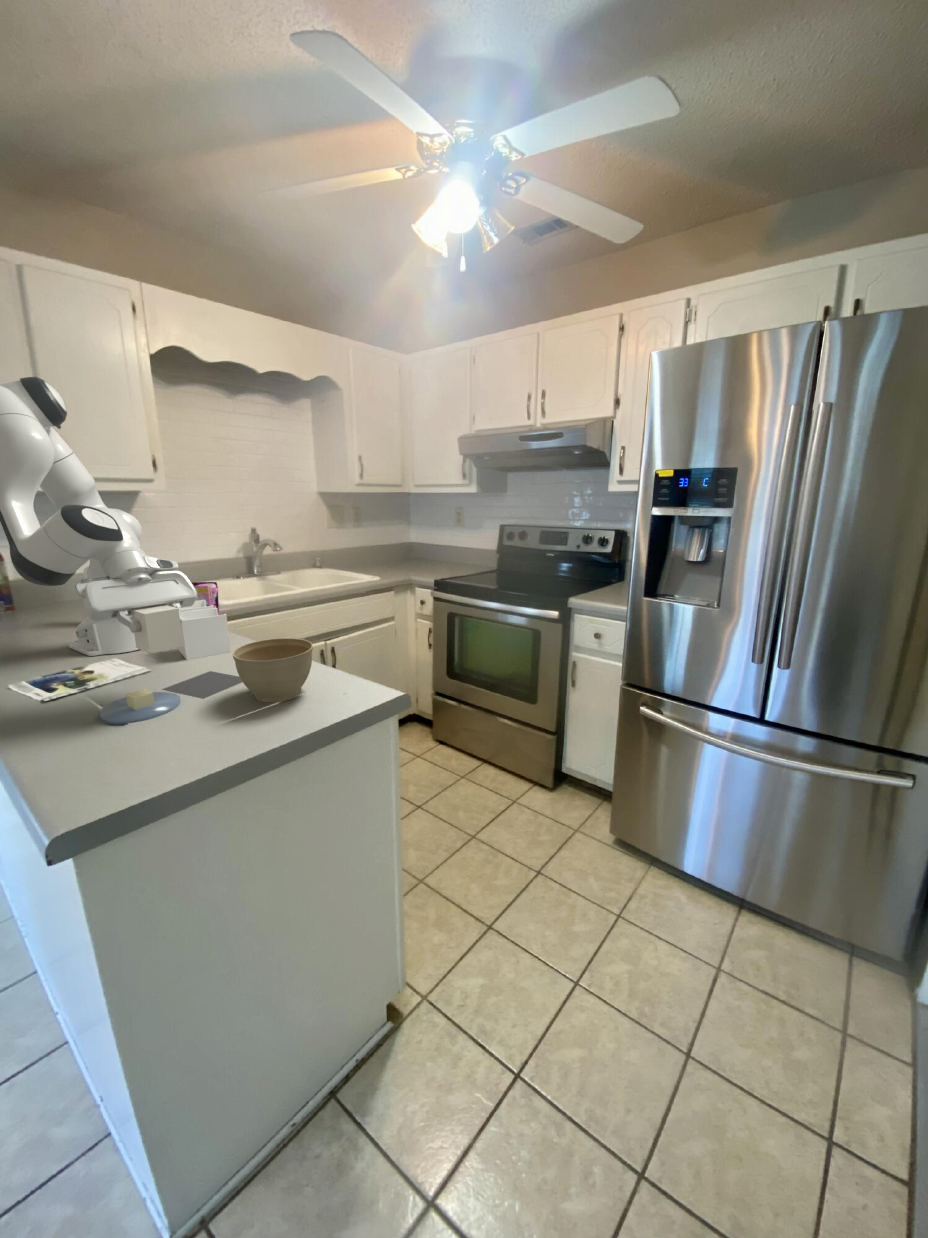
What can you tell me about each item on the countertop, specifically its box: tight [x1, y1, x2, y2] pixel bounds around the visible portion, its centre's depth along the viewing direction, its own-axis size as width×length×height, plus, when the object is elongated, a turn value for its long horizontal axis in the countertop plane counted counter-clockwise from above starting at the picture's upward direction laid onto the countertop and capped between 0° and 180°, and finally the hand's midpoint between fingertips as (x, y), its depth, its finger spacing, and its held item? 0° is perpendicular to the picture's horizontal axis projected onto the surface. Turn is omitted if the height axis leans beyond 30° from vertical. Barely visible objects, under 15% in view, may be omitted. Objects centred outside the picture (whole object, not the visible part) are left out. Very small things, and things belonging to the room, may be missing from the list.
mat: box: [161, 670, 243, 700], centre depth 117 cm, size 13×13×1 cm
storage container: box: [176, 600, 232, 661], centre depth 146 cm, size 25×11×11 cm, turn 39°
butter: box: [125, 688, 155, 710], centre depth 104 cm, size 4×4×2 cm
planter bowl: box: [232, 637, 314, 703], centre depth 110 cm, size 16×16×11 cm
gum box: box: [191, 581, 221, 615], centre depth 171 cm, size 24×8×14 cm, turn 95°
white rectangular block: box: [131, 605, 183, 654], centre depth 104 cm, size 6×6×8 cm
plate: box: [99, 691, 182, 726], centre depth 104 cm, size 14×14×1 cm
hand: (158, 626), depth 104 cm, fingers closed on white rectangular block, 6 cm apart
